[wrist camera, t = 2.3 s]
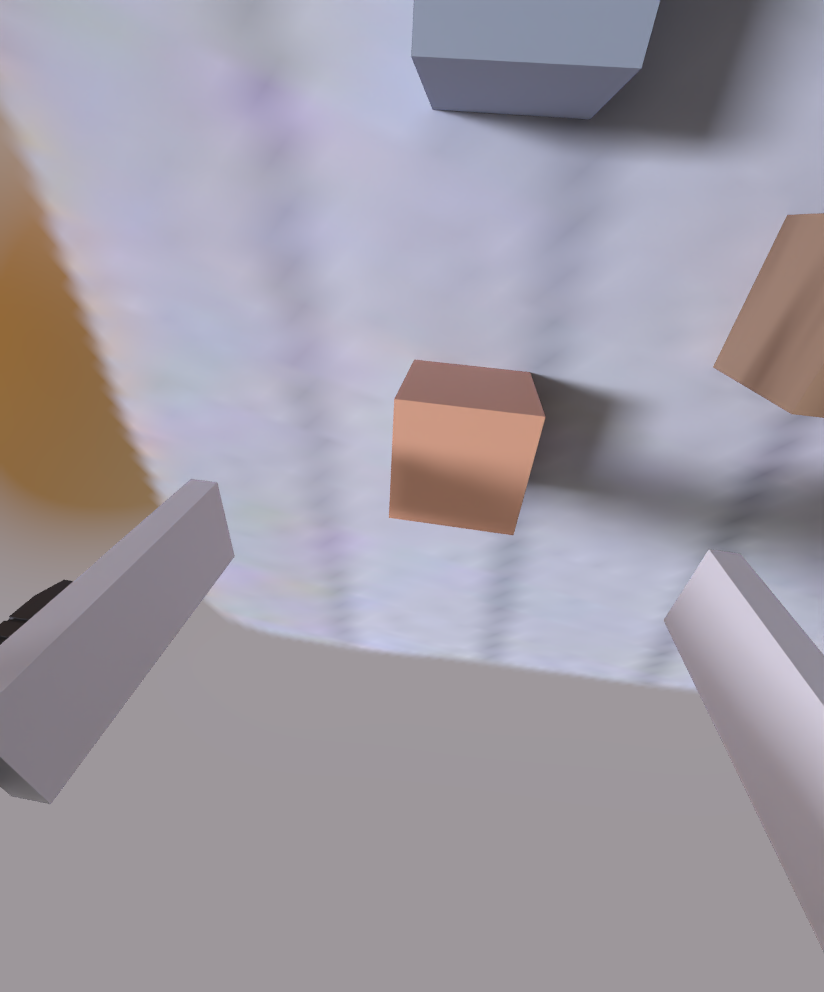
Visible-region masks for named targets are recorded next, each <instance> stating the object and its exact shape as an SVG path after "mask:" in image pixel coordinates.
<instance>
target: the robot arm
mask: <svg viewBox="0 0 824 992" xmlns="http://www.w3.org/2000/svg"><path fill="white" fill-rule="evenodd" d="M233 558H234V552H233V548H232V543H231V539H230V535H229V530H228V526H227V522H226V518H225V513H224V509H223V505H222V501H221V496H220V492H219V488H218V483H217V482H210V481H203V480H195V479H190V480H189V481H188V482H187V483H186V484H185V485H184V486H182V487H181V488H180V489H179V490H178V491H177V492H175V493H174V494H173V495H172V496H171V497H170V498H169V499H167V500H166V501H165V502H164V503H163V504H162V505H161V506H159V507H158V508H157V509H156V510H155V511H154V512H152V513H151V514H150V515H149V516H148V517H147V518H146V519H144V520H143V521H142V522H141V523H140V524H139V525H138V526H136V527H135V528H134V529H133V530H132V531H131V532H129V533H128V534H127V535H126V536H125V537H124V538H123V539H121V541H119V542H118V543H117V544H116V545H115V546H113V547H112V548H111V549H110V550H109V551H108V552H107V553H105V554H104V555H103V556H102V557H101V558H100V559H99V560H97V561H96V562H95V563H94V564H93V565H92V566H90V567H89V568H88V569H87V570H86V571H85V572H83V573H82V574H81V575H80V576H79V577H78V578H77V579H75V580H74V581H68V580H63V581H61V582H59V583H57V584H55V585H53V586H52V587H50V588H48V589H47V590H44V591H42V592H41V593H39V594H37V595H35V596H34V597H32V598H31V599H30V600H29V601H28V602H26V603H25V604H24V605H23V606H21V607H20V608H19V609H18V610H17V611H15V612H14V613H13V614H12V615H10V616H9V617H10V618H9V620H8V621H3V622H2V623H1V624H0V787H1V788H2V789H4V790H5V791H6V792H7V793H8V794H10V795H11V796H13V797H18V798H23V799H28V800H33V801H38V802H43V803H48V804H51V803H52V802H53V800H54V799H55V798H56V796H57V795H58V794H59V792H60V791H61V789H62V788H63V787H64V785H65V784H66V783H67V781H68V780H69V779H70V777H71V776H72V775H73V773H74V772H75V771H76V769H77V768H78V766H79V765H80V764H81V762H82V761H83V760H84V759H85V757H86V756H87V754H88V753H89V752H90V750H91V749H92V748H93V746H94V745H95V744H96V742H97V741H98V740H99V738H100V737H101V736H102V734H103V733H104V731H105V730H106V729H107V728H108V726H109V725H110V723H111V722H112V721H113V719H114V718H115V717H116V715H117V714H118V713H119V711H120V710H121V709H122V707H123V706H124V705H125V703H126V702H127V701H128V699H129V698H130V697H131V695H132V694H133V692H134V691H135V690H136V688H137V687H138V686H139V684H140V683H141V682H142V680H143V679H144V678H145V676H146V675H147V673H148V672H149V671H150V670H151V668H152V667H153V665H154V664H155V663H156V662H157V660H158V659H159V657H160V656H161V654H162V653H163V652H164V651H165V649H166V648H167V647H168V645H169V644H170V643H171V641H172V640H173V639H174V637H175V636H176V635H177V633H178V632H179V631H180V629H181V628H182V626H183V625H184V624H185V622H186V621H187V620H188V618H189V617H190V616H191V614H192V613H193V612H194V610H195V609H196V608H197V606H198V605H199V604H200V602H201V601H202V600H203V598H204V597H205V596H206V594H207V593H208V591H209V590H210V589H211V587H212V586H213V585H214V583H215V582H216V581H217V579H218V578H219V577H220V575H221V574H222V573H223V571H224V570H225V569H226V567H227V566H228V565H229V563H230V562H231V561H232V559H233ZM664 622H665V624H666V626H667V628H668V630H669V632H670V634H671V637H672V639H673V641H674V643H675V645H676V647H677V649H678V651H679V653H680V655H681V657H682V659H683V661H684V664H685V666H686V668H687V670H688V672H689V674H690V676H691V678H692V680H693V682H694V684H695V686H696V688H697V690H698V693H699V695H700V697H701V699H702V701H703V703H704V705H705V707H706V709H707V711H708V713H709V715H710V717H711V720H712V721H713V723H714V726H715V728H716V730H717V732H718V734H719V736H720V738H721V740H722V742H723V744H724V746H725V749H726V751H727V753H728V754H729V757H730V759H731V761H732V763H733V765H734V767H735V769H736V771H737V773H738V775H739V778H740V780H741V782H742V783H743V786H744V788H745V790H746V792H747V794H748V796H749V798H750V800H751V802H752V804H753V807H754V808H755V811H756V813H757V815H758V817H759V819H760V821H761V823H762V825H763V827H764V829H765V831H766V834H767V836H768V837H769V840H770V842H771V844H772V846H773V848H774V850H775V852H776V854H777V856H778V858H779V860H780V863H781V864H782V867H783V869H784V871H785V873H786V875H787V877H788V879H789V881H790V883H791V885H792V887H793V889H794V892H795V893H796V896H797V898H798V900H799V902H800V904H801V906H802V908H803V910H804V912H805V914H806V916H807V919H808V920H809V923H810V925H811V927H812V929H813V931H814V933H815V935H816V937H817V939H818V941H819V943H820V945H821V948H822V950H823V952H824V655H823V654H822V652H821V651H820V650H819V649H818V648H817V646H816V645H815V644H814V643H813V641H812V640H811V639H810V638H809V637H808V635H807V634H806V633H805V632H804V630H803V629H802V628H801V627H800V626H799V624H798V623H797V622H796V621H795V620H794V618H793V617H792V616H791V615H790V613H789V612H788V611H787V610H786V609H785V607H784V606H783V605H782V604H781V602H780V601H779V600H778V599H777V598H776V596H775V595H774V594H773V593H772V591H771V590H770V589H769V588H768V587H767V585H766V584H765V583H764V582H763V580H762V579H761V578H760V577H759V576H758V574H757V573H756V572H755V571H754V570H753V568H752V567H751V566H750V565H749V563H748V562H747V561H746V560H745V559H744V557H743V556H742V555H741V554H740V553H733V552H725V551H718V550H711V549H709V550H708V552H707V553H706V555H705V556H704V558H703V559H702V561H701V563H700V564H699V566H698V567H697V569H696V570H695V572H694V573H693V575H692V577H691V578H690V580H689V581H688V583H687V584H686V586H685V588H684V589H683V591H682V592H681V594H680V595H679V597H678V599H677V600H676V602H675V603H674V605H673V606H672V608H671V610H670V611H669V613H668V614H667V616H666V617H665V619H664Z"/></svg>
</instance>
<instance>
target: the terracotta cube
mask: <svg viewBox="0 0 824 992" xmlns="http://www.w3.org/2000/svg"><path fill="white" fill-rule="evenodd" d="M544 421H545V414H544V411H543V408H542V405H541V402H540V399H539V397H538V394H537V391H536V388H535V385H534V382H533V379H532V376H531V373H530V372H522V371H513V370H504V369H495V368H486V367H476V366H467V365H458V364H449V363H440V362H431V361H422V360H414V361H413V363H412V365H411V367H410V369H409V371H408V373H407V375H406V377H405V379H404V381H403V383H402V385H401V387H400V389H399V391H398V393H397V395H396V397H395V399H394V419H393V441H392V463H391V485H390V507H389V518H395V519H402V520H410V521H417V522H424V523H431V524H438V525H445V526H452V527H459V528H466V529H473V530H480V531H487V532H494V533H501V534H508V535H514V531H515V527H516V524H517V520H518V516H519V513H520V509H521V505H522V502H523V498H524V494H525V491H526V487H527V483H528V479H529V476H530V472H531V468H532V465H533V461H534V457H535V454H536V450H537V446H538V443H539V439H540V435H541V432H542V428H543V424H544Z"/></svg>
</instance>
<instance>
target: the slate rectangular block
mask: <svg viewBox="0 0 824 992" xmlns="http://www.w3.org/2000/svg"><path fill="white" fill-rule="evenodd" d="M659 3H660V0H414V9H413V30H412V50H411V57H412V59H413V62H414V64H415V67H416V69H417V72H418V74H419V77H420V79H421V82H422V84H423V87H424V89H425V92H426V94H427V97H428V99H429V102H430V104H431V107H432V109H434V110H449V111H465V112H481V113H496V114H512V115H528V116H543V117H559V118H575V119H591V118H592V117H593V116H594V115H595V114H596V113H597V112H598V111H599V110H600V109H601V108H602V107H603V106H604V105H605V104H606V103H607V102H608V101H609V100H610V99H611V98H612V97H613V96H614V95H615V94H616V93H617V92H618V91H619V90H620V89H621V88H622V87H623V86H624V85H625V84H626V83H627V82H628V81H629V80H630V79H631V78H632V77H633V76H634V75H635V74H636V73H637V72H638V71H639V70H640V69H642V65H643V61H644V58H645V54H646V50H647V47H648V43H649V39H650V36H651V32H652V28H653V25H654V21H655V18H656V14H657V10H658V7H659Z"/></svg>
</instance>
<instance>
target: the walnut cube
mask: <svg viewBox="0 0 824 992" xmlns="http://www.w3.org/2000/svg"><path fill="white" fill-rule="evenodd" d="M713 367H714V368H715V369H717V370H719V371H720V372H722V373H724V374H725V375H727V376H729V377H730V378H732V379H734V380H735V381H737V382H739V383H740V384H742V385H744V386H745V387H747V388H749V389H750V390H752V391H754V392H755V393H757V394H759V395H761V396H762V397H764V398H766V399H767V400H769V401H771V402H772V403H774V404H776V405H777V406H779V407H781V408H782V409H784V410H786V411H787V412H789V413H791V414H796V415H805V416H813V417H822V418H824V213H821V214H798V215H787V217H786V219H785V221H784V223H783V225H782V227H781V229H780V231H779V233H778V235H777V237H776V239H775V241H774V243H773V245H772V247H771V250H770V252H769V254H768V256H767V258H766V260H765V262H764V264H763V266H762V268H761V270H760V272H759V274H758V276H757V278H756V280H755V282H754V284H753V286H752V288H751V291H750V293H749V295H748V297H747V299H746V301H745V303H744V305H743V307H742V309H741V311H740V313H739V315H738V317H737V319H736V321H735V323H734V325H733V327H732V329H731V332H730V334H729V336H728V338H727V340H726V342H725V344H724V346H723V348H722V350H721V352H720V354H719V356H718V358H717V360H716V362H715V364H714V366H713Z"/></svg>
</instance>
